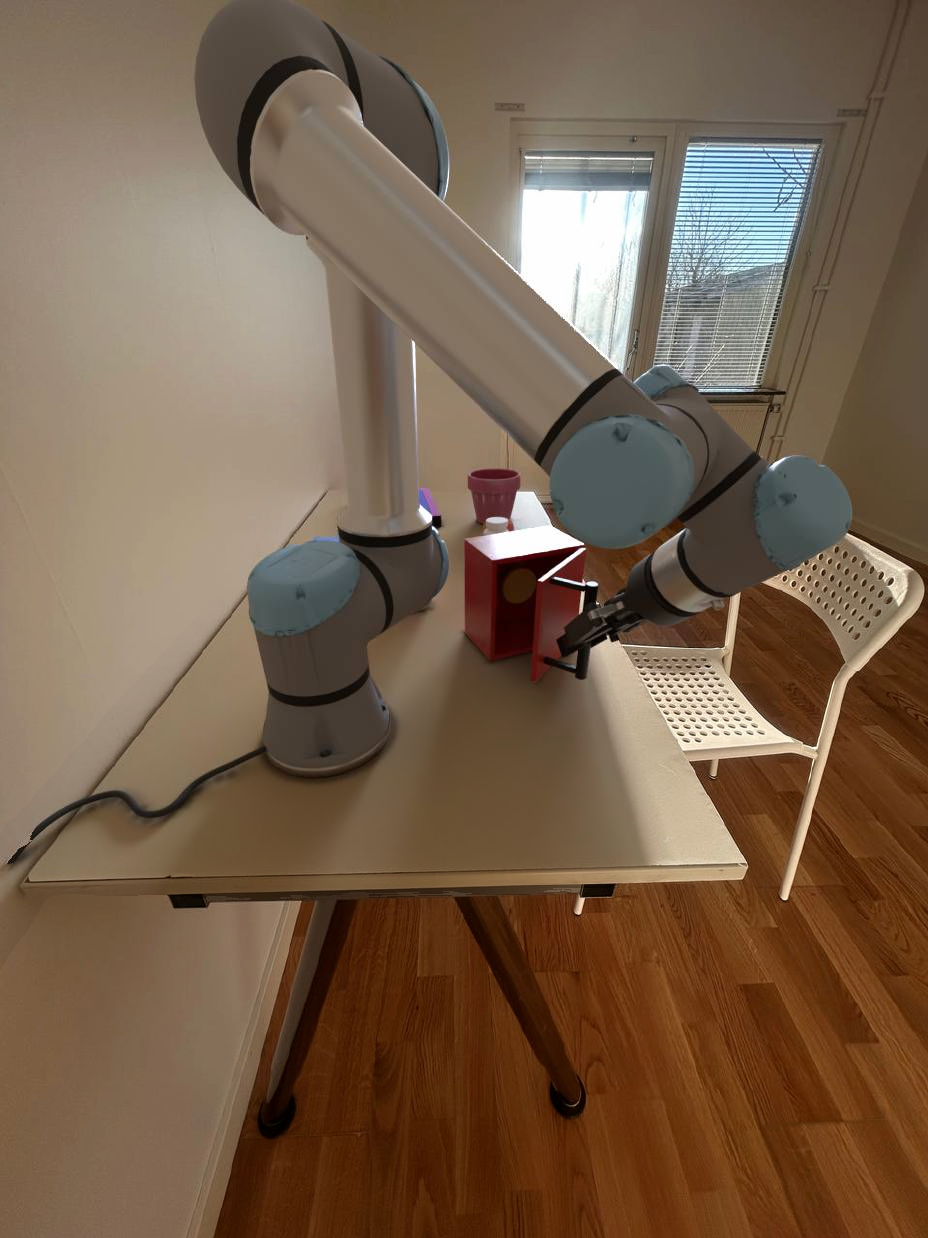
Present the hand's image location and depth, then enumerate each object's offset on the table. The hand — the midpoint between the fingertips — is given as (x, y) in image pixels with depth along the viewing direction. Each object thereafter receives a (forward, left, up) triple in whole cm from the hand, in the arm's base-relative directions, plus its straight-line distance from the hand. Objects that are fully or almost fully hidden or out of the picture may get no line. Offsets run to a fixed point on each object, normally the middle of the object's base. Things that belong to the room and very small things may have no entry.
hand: (569, 646), depth 72 cm
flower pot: (+60, +46, -6) cm, 76 cm away
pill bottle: (+33, +30, -6) cm, 45 cm away
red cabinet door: (+3, 0, -5) cm, 5 cm away
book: (+52, +73, -6) cm, 90 cm away
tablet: (+18, +65, -6) cm, 68 cm away
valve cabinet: (+7, +11, -6) cm, 14 cm away
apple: (+43, +35, -6) cm, 56 cm away
